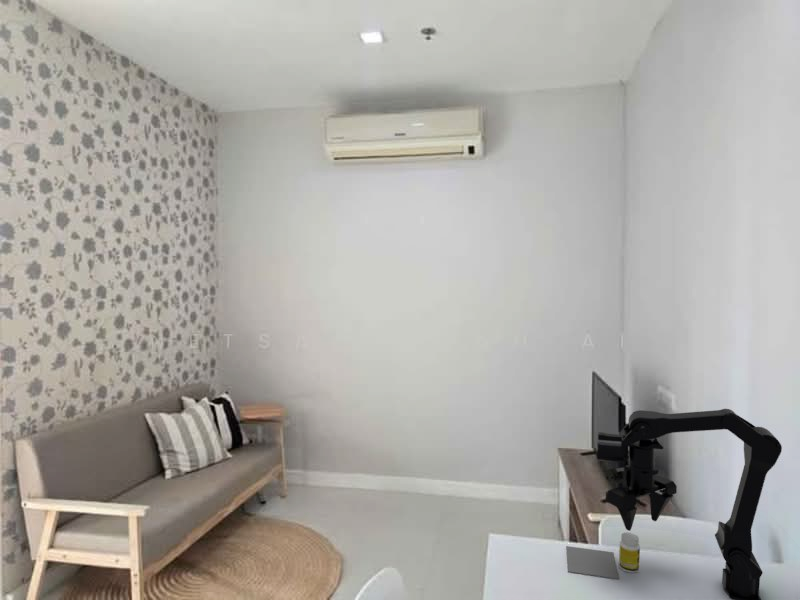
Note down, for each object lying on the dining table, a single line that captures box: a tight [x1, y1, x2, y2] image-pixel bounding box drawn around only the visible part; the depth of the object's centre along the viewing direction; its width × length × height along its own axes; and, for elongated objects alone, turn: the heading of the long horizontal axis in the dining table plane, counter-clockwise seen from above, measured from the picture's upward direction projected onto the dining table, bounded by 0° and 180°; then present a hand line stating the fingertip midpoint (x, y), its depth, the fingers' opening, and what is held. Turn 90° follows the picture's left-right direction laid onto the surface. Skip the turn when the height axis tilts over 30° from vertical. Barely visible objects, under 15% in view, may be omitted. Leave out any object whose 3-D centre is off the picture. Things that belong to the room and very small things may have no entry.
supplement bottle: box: [618, 531, 641, 574], centre depth 136 cm, size 5×5×8 cm
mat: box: [565, 545, 620, 581], centre depth 139 cm, size 12×12×1 cm
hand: (641, 525), depth 133 cm, fingers open, 9 cm apart
